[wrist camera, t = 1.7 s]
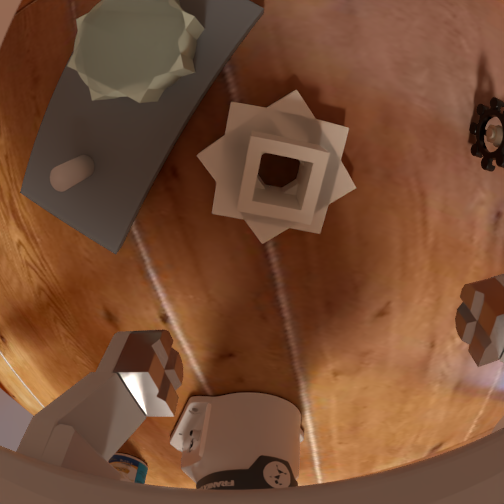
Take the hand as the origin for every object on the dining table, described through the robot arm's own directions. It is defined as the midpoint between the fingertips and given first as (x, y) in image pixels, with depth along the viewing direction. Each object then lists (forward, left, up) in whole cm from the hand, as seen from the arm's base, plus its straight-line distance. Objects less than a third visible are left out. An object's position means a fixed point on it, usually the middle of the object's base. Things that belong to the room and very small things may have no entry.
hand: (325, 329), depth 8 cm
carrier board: (-2, +14, -19) cm, 24 cm away
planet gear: (0, 0, -19) cm, 19 cm away
